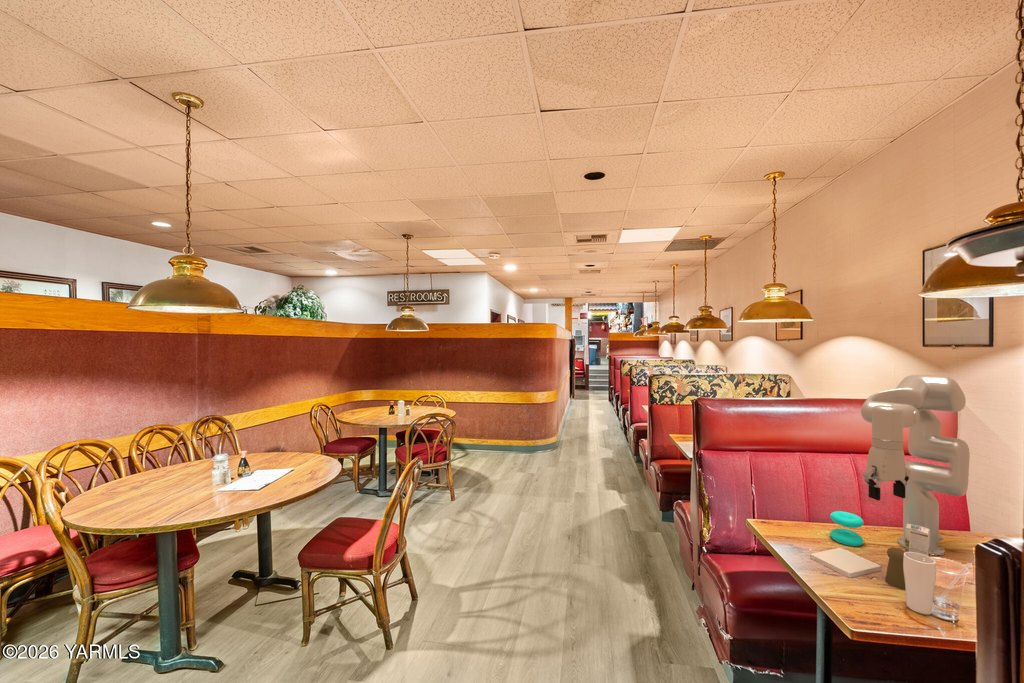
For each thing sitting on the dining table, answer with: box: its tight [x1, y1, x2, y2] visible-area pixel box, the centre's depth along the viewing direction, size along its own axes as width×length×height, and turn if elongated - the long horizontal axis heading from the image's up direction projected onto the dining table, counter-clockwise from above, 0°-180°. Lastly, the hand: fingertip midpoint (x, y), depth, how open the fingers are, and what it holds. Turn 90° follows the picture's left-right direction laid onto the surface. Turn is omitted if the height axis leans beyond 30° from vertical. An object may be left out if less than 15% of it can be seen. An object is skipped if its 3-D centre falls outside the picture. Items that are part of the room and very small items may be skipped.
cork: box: [884, 547, 906, 591], centre depth 132 cm, size 6×6×11 cm
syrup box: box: [904, 524, 930, 557], centre depth 140 cm, size 6×6×14 cm
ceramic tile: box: [809, 547, 882, 579], centre depth 144 cm, size 15×13×2 cm
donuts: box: [829, 510, 865, 547], centre depth 161 cm, size 10×10×10 cm
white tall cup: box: [903, 552, 937, 616], centre depth 120 cm, size 7×7×15 cm
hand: (886, 497), depth 134 cm, fingers open, 9 cm apart
